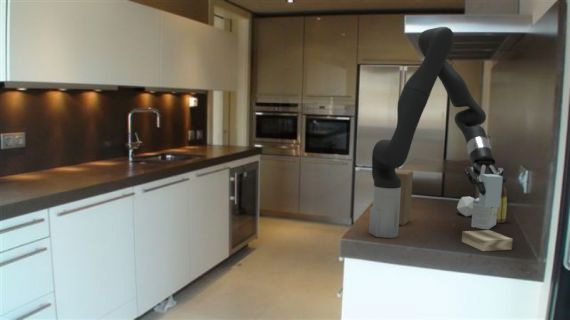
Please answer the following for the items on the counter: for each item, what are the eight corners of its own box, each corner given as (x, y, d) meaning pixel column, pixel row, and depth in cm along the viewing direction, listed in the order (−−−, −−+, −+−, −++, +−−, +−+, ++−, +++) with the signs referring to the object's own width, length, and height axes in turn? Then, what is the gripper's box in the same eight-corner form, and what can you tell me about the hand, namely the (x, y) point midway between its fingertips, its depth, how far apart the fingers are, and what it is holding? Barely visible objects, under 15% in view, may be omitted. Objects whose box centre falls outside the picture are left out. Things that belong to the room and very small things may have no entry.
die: (466, 213, 213) (454, 196, 212) (484, 206, 208) (472, 188, 207) (463, 223, 207) (451, 205, 206) (482, 217, 202) (469, 198, 201)
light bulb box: (479, 222, 196) (481, 195, 195) (496, 225, 192) (499, 197, 191) (470, 227, 188) (472, 199, 186) (488, 230, 184) (491, 201, 182)
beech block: (483, 251, 156) (483, 240, 156) (461, 241, 167) (462, 231, 167) (511, 249, 160) (512, 238, 159) (489, 239, 170) (489, 230, 170)
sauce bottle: (501, 219, 201) (505, 171, 198) (508, 223, 194) (512, 174, 192) (485, 219, 200) (489, 171, 198) (492, 223, 194) (496, 173, 192)
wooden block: (410, 220, 194) (413, 170, 192) (403, 226, 186) (406, 173, 183) (385, 217, 199) (388, 168, 197) (377, 222, 191) (380, 171, 188)
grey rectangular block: (484, 206, 159) (487, 176, 158) (478, 203, 164) (480, 173, 163) (500, 207, 159) (502, 176, 158) (493, 203, 164) (495, 174, 163)
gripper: (463, 145, 167) (474, 186, 156) (505, 146, 167) (519, 188, 157) (456, 159, 173) (467, 199, 162) (496, 160, 173) (510, 201, 162)
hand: (492, 193), depth 159 cm, fingers closed on grey rectangular block, 5 cm apart
